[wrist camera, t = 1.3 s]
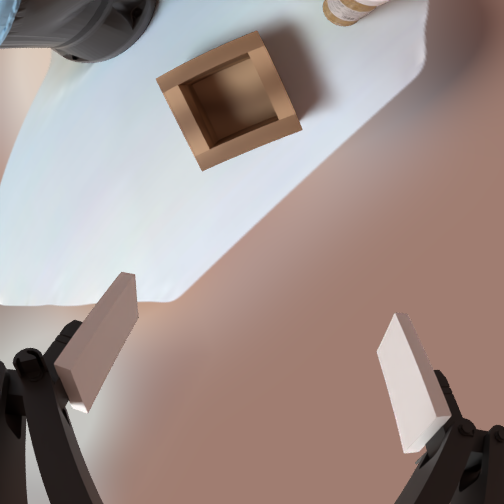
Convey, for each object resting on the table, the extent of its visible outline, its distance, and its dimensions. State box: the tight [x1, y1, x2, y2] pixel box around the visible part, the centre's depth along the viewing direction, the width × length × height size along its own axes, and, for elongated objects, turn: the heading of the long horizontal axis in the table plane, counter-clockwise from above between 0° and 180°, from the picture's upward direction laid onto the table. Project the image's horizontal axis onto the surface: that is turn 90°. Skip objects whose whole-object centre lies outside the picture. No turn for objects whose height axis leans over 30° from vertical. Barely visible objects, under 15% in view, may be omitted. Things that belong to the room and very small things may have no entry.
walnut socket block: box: [156, 31, 303, 171], centre depth 32 cm, size 11×11×7 cm
